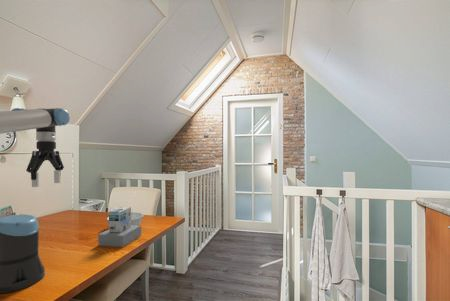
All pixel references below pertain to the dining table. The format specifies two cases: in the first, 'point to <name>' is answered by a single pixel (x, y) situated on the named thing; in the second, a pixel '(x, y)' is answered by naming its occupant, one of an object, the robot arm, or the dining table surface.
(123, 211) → the light bulb box
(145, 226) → the dining table surface
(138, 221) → the serving bowl
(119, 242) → the grey block
